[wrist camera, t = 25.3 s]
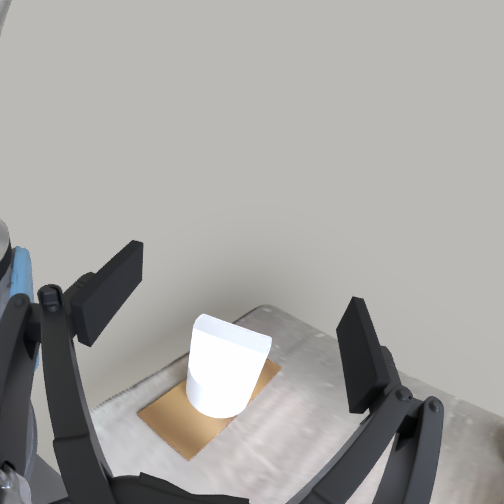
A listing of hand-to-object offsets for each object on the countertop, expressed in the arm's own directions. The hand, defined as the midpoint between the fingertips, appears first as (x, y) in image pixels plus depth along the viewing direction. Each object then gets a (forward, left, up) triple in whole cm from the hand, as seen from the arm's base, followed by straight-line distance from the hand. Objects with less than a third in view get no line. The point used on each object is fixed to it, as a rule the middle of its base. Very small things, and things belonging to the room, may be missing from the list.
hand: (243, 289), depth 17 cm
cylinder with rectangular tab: (+6, +7, -25) cm, 27 cm away
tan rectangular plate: (+6, +7, -25) cm, 27 cm away
